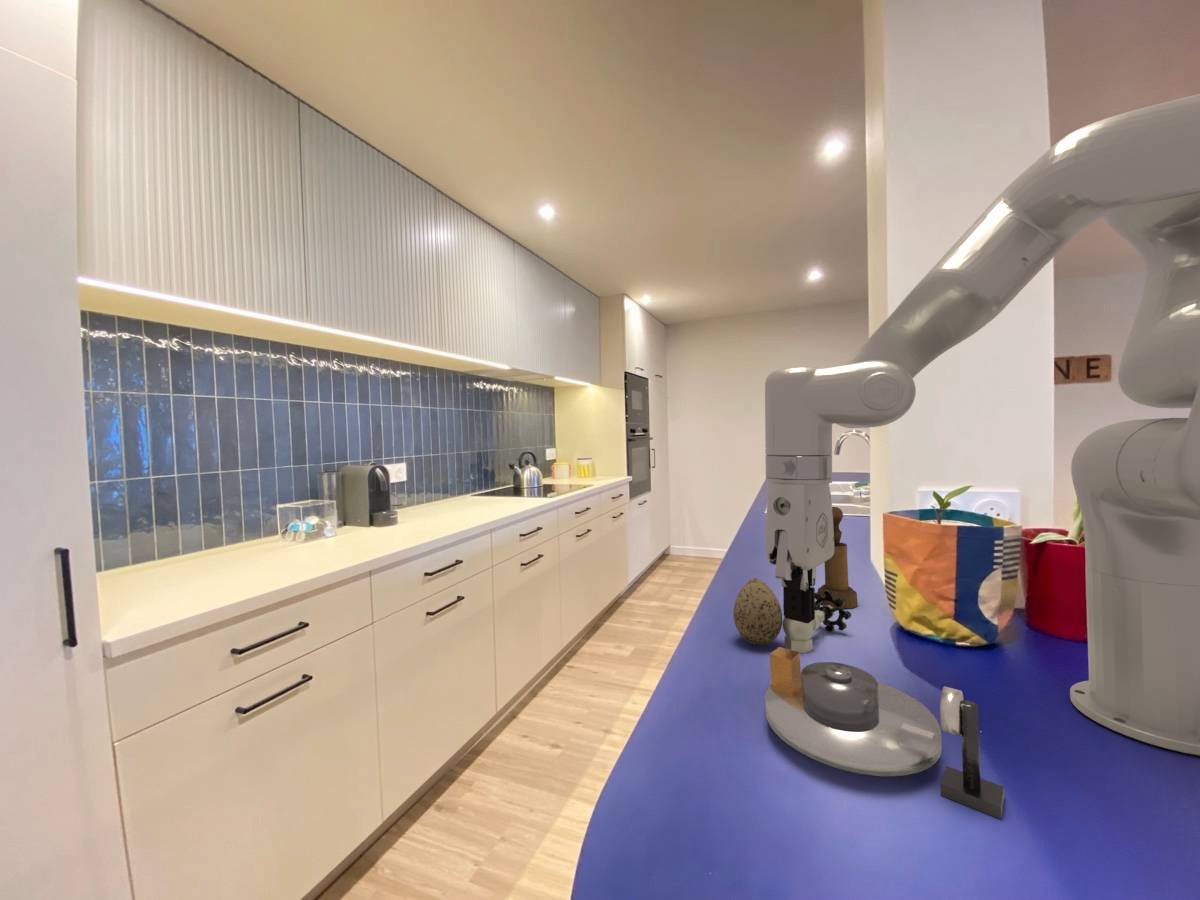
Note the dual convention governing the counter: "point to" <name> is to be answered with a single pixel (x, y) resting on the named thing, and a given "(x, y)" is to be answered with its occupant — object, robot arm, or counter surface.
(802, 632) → the valve
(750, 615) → the decorative egg
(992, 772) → the counter surface
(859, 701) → the cover
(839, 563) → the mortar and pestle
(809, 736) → the turntable
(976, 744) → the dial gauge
